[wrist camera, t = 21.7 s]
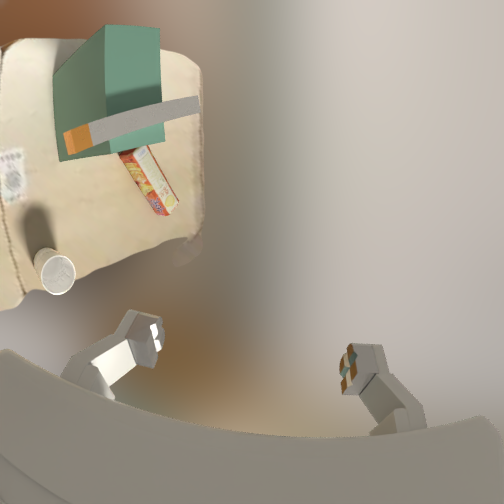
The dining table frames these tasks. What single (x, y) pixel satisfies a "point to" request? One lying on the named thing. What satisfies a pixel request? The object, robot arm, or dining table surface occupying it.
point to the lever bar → (128, 123)
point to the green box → (109, 86)
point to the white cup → (54, 270)
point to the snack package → (150, 179)
